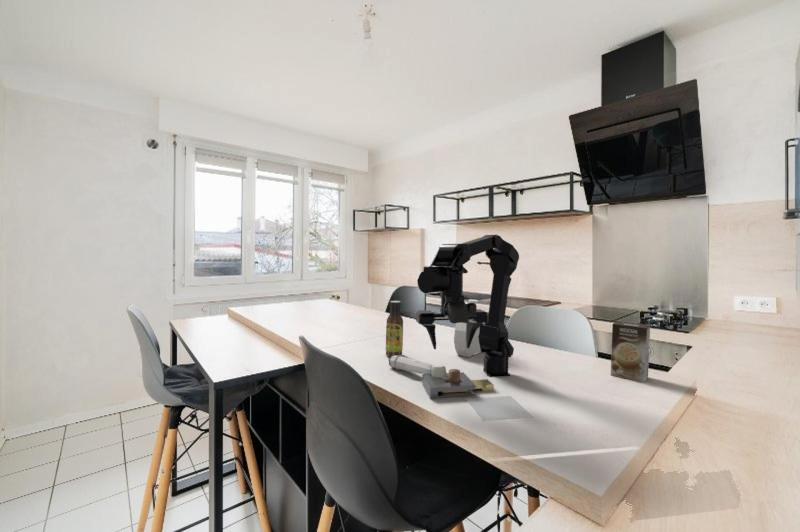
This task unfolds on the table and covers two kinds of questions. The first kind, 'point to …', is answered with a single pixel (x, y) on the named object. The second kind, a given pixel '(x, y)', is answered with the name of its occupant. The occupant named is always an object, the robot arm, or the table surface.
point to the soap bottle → (461, 339)
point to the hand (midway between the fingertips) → (451, 348)
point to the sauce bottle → (394, 330)
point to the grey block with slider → (453, 386)
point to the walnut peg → (454, 375)
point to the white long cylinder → (418, 367)
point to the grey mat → (498, 408)
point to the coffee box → (630, 350)
